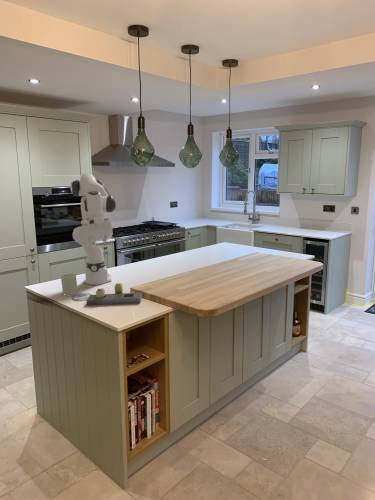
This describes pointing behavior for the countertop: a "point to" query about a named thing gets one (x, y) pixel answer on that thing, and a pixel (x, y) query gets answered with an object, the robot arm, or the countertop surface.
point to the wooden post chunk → (118, 288)
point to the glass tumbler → (69, 284)
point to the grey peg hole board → (115, 299)
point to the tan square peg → (100, 293)
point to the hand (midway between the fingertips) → (98, 243)
